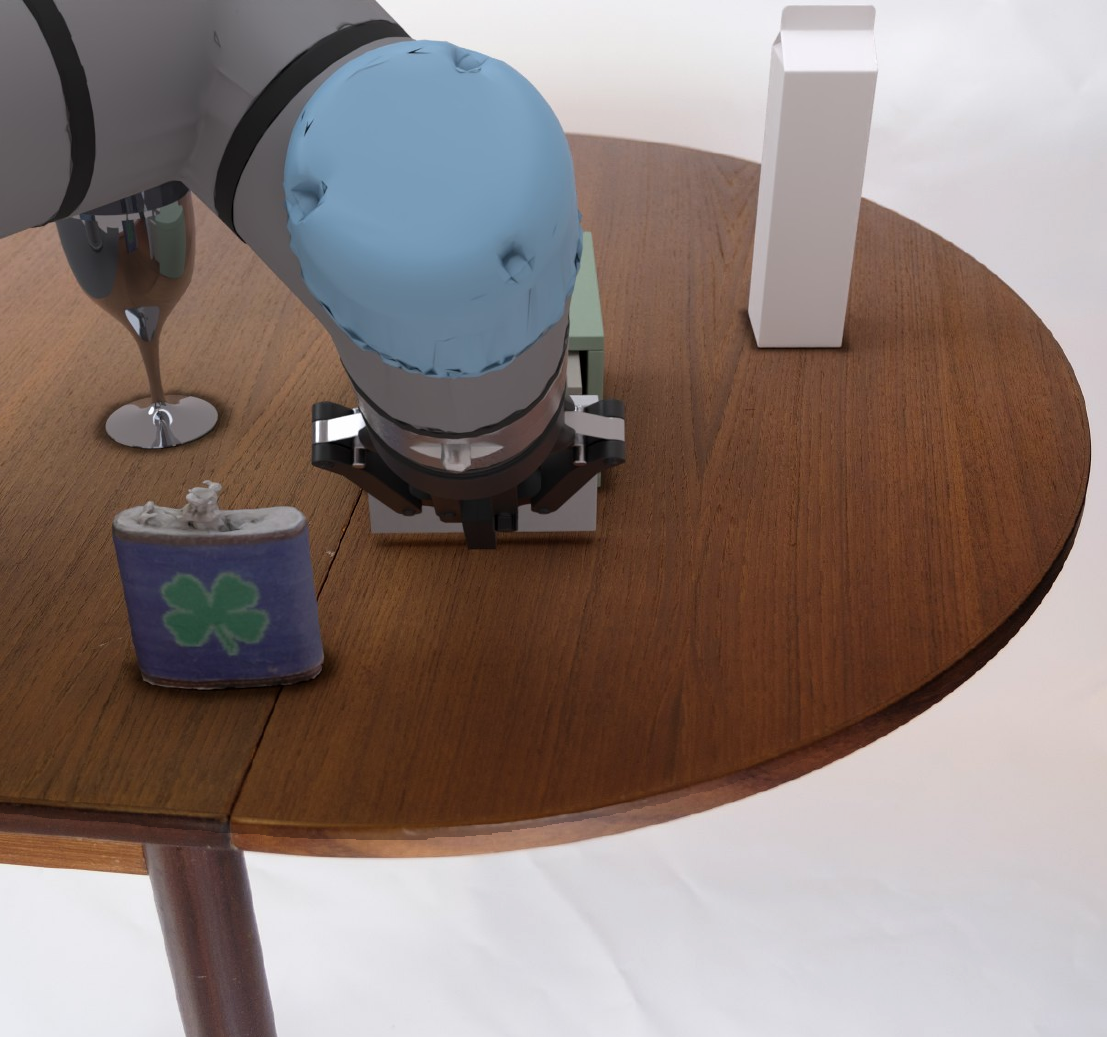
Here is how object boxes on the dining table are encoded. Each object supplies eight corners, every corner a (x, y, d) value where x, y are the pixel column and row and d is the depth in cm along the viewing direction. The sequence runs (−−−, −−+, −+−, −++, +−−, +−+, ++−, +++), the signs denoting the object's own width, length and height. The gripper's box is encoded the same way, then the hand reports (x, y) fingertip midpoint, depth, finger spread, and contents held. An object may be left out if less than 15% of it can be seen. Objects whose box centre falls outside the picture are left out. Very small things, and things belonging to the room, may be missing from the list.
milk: (747, 313, 107) (774, -7, 93) (829, 313, 107) (867, -8, 94) (757, 349, 102) (787, 16, 89) (843, 348, 102) (885, 15, 89)
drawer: (599, 574, 78) (603, 444, 73) (365, 577, 77) (353, 447, 72) (585, 409, 93) (587, 292, 88) (388, 411, 92) (379, 294, 87)
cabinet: (600, 487, 87) (604, 335, 81) (370, 489, 86) (357, 337, 80) (588, 369, 99) (591, 230, 93) (387, 371, 99) (377, 232, 93)
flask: (327, 653, 73) (305, 469, 67) (321, 689, 71) (297, 503, 65) (145, 655, 73) (105, 471, 67) (133, 691, 71) (90, 505, 64)
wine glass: (142, 385, 97) (100, 161, 88) (247, 403, 95) (215, 176, 86) (73, 439, 91) (21, 205, 82) (183, 460, 89) (142, 223, 80)
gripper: (272, 478, 50) (354, 597, 73) (647, 475, 50) (610, 594, 74) (275, 271, 51) (355, 453, 74) (643, 269, 51) (607, 451, 75)
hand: (481, 523), depth 74 cm, fingers closed
